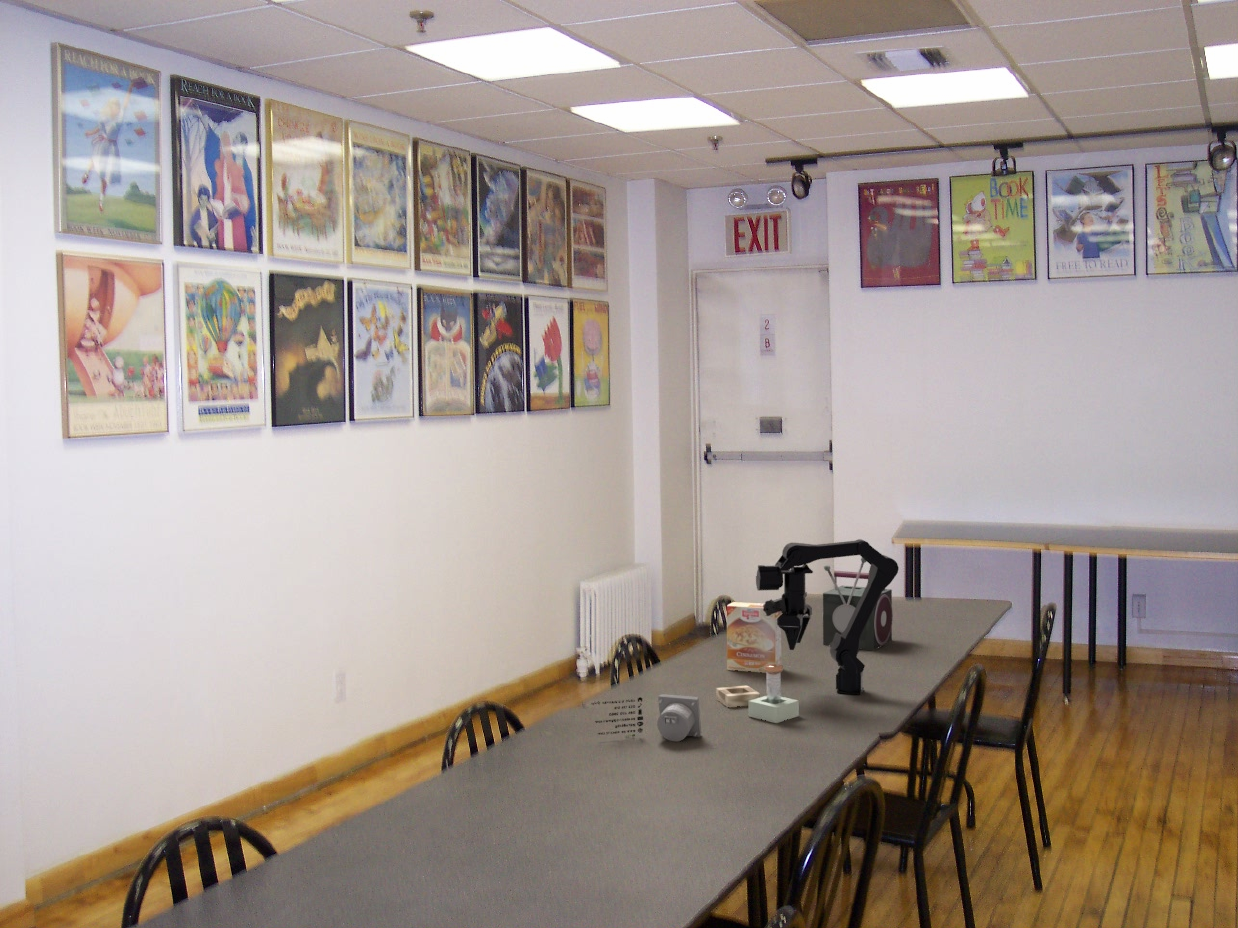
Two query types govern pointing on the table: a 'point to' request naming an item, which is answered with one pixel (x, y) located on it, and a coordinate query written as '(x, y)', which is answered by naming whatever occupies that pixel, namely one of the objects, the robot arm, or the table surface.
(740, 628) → the coffeecake box
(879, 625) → the boombox
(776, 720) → the dock socket
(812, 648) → the table surface
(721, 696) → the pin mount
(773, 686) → the lock pin
